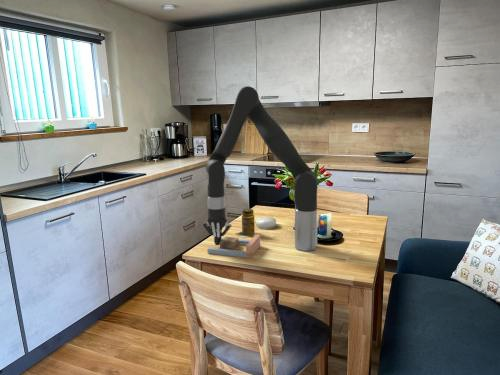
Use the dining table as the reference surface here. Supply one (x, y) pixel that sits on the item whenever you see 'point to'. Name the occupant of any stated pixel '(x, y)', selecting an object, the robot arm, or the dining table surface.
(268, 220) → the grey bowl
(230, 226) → the robot arm
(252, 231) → the condiment
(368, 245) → the dining table surface
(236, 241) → the block
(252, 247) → the guide track
